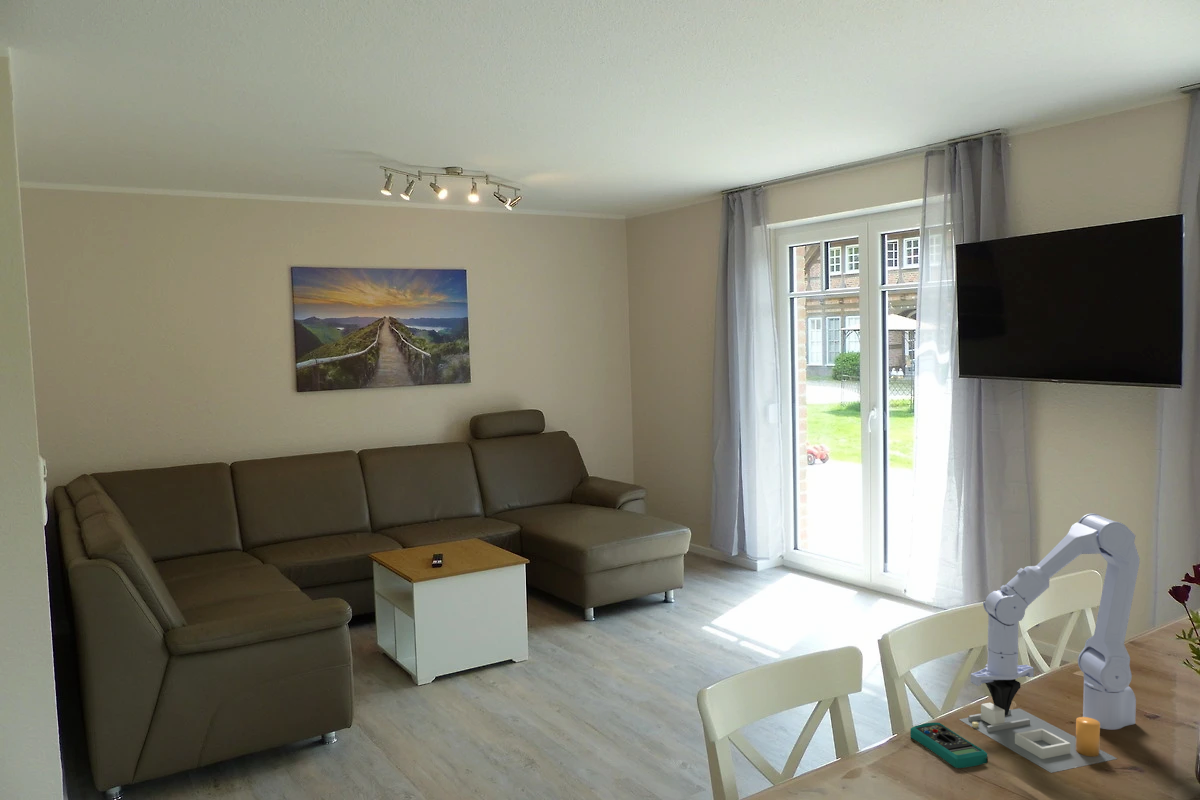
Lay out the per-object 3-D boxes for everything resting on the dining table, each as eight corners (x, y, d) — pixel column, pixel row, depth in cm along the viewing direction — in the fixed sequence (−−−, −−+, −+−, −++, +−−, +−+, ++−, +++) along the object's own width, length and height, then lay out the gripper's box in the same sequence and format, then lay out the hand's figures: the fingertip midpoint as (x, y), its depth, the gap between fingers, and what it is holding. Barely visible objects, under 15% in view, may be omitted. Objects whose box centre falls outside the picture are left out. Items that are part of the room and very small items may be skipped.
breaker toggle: (990, 717, 181) (990, 702, 181) (1004, 725, 177) (1004, 710, 177) (980, 719, 180) (981, 704, 180) (995, 727, 176) (995, 711, 176)
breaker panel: (1019, 713, 186) (1019, 699, 186) (1117, 764, 163) (1117, 748, 163) (958, 724, 181) (958, 710, 181) (1051, 779, 158) (1051, 762, 158)
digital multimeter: (938, 732, 179) (938, 719, 178) (989, 765, 164) (989, 750, 164) (907, 738, 177) (907, 724, 176) (956, 771, 162) (956, 756, 162)
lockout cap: (1086, 745, 169) (1087, 715, 168) (1104, 754, 165) (1105, 724, 164) (1070, 748, 167) (1071, 718, 167) (1088, 758, 164) (1088, 727, 163)
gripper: (1015, 639, 185) (1014, 701, 185) (960, 647, 180) (959, 710, 181) (1042, 650, 178) (1040, 714, 179) (985, 659, 173) (984, 724, 174)
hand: (1001, 713), depth 179 cm, fingers closed
